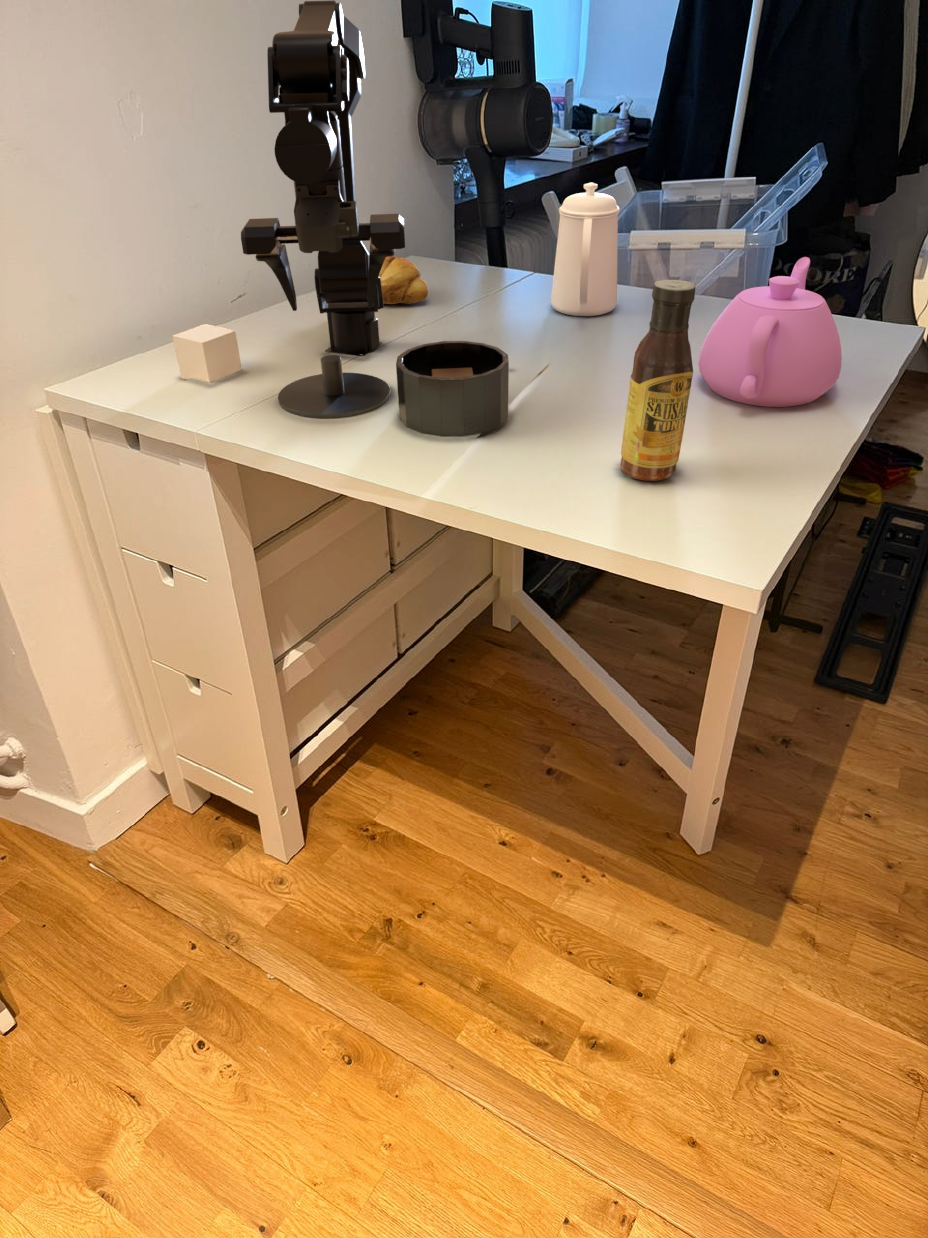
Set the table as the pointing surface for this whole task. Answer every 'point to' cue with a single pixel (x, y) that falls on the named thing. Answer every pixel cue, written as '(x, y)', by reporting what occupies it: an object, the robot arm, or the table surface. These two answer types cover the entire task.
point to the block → (452, 372)
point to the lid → (334, 392)
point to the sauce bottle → (660, 386)
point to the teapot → (773, 345)
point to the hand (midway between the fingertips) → (332, 308)
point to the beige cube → (207, 353)
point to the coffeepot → (586, 254)
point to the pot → (453, 389)
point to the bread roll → (401, 282)
